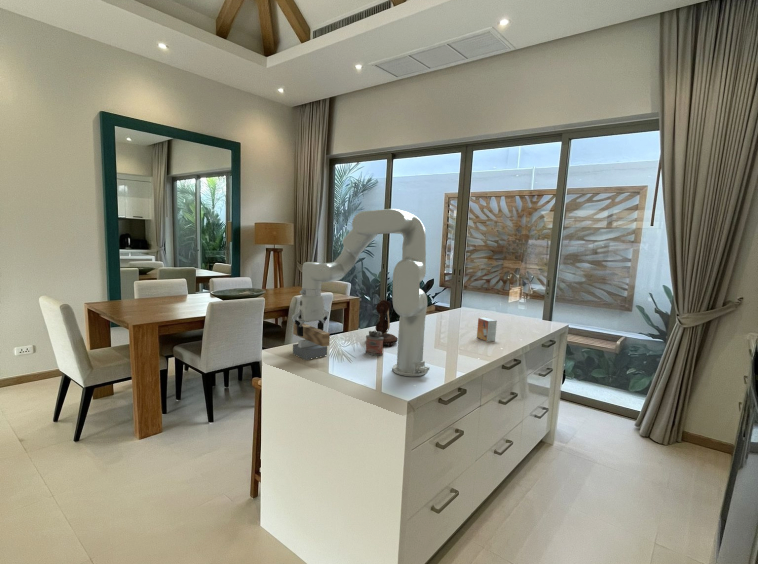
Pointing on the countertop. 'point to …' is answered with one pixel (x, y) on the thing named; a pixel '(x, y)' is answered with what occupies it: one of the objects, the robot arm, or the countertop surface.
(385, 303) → the brown rounded piece
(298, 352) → the ridge stand
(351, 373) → the countertop surface
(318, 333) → the batten
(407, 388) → the countertop surface
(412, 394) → the countertop surface
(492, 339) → the small box
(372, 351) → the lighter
